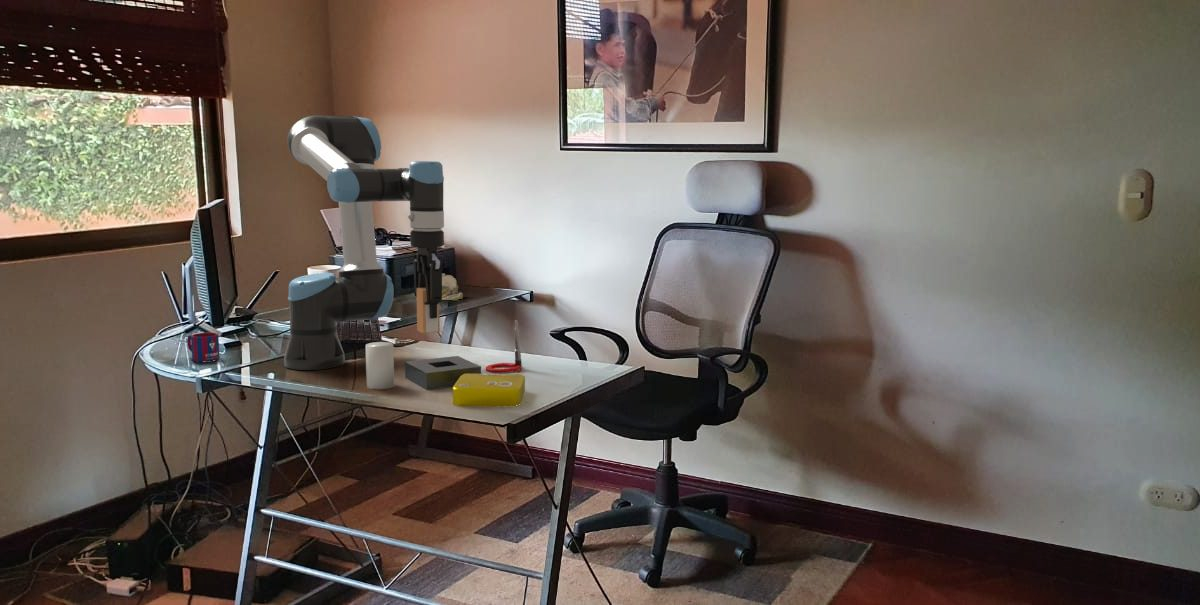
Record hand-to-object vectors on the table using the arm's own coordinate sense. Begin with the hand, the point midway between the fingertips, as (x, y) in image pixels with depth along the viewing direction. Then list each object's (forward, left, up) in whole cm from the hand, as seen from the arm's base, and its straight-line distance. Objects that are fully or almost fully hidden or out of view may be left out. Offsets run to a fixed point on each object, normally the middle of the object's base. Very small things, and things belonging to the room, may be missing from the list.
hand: (428, 329), depth 215 cm
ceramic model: (-129, +58, -15) cm, 142 cm away
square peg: (0, 0, 0) cm, 0 cm away
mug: (-61, -40, -14) cm, 74 cm away
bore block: (-7, +6, -14) cm, 17 cm away
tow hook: (-10, +24, -15) cm, 30 cm away
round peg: (-9, -9, -14) cm, 19 cm away
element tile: (+14, +9, -15) cm, 22 cm away
